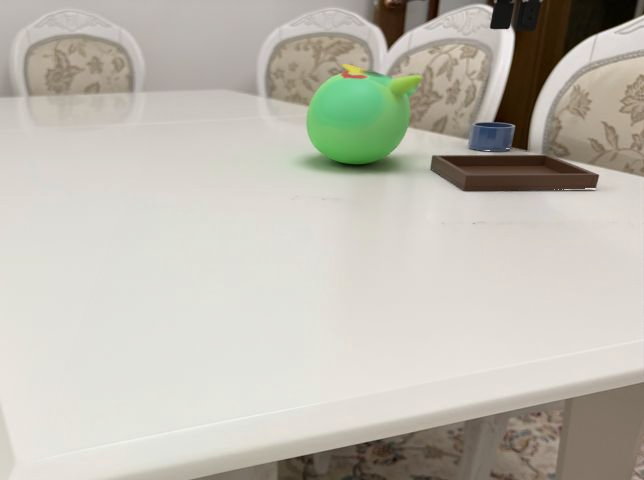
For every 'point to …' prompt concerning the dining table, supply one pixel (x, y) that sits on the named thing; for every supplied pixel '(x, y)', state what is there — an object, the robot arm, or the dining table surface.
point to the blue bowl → (491, 136)
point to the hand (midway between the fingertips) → (511, 29)
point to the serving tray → (512, 172)
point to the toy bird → (360, 115)
